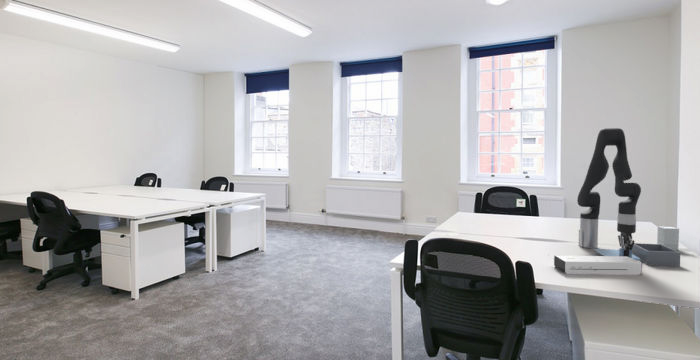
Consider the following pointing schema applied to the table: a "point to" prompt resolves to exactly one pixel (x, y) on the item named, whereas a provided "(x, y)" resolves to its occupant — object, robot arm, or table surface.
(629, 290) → the table surface
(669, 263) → the parts tub
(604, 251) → the tub lid
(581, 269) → the laminator
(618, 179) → the robot arm
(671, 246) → the supplement box
